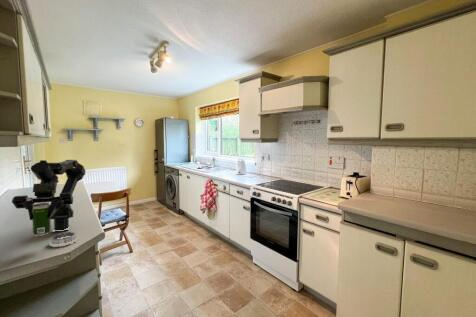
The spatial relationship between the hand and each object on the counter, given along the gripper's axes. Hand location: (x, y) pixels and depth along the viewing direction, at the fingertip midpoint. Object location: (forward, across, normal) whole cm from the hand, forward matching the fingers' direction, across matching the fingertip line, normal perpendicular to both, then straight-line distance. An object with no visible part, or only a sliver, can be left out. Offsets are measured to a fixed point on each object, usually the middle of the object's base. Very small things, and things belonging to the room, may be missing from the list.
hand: (40, 218), depth 87 cm
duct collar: (+6, +6, +13) cm, 15 cm away
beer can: (+4, 0, +6) cm, 7 cm away
